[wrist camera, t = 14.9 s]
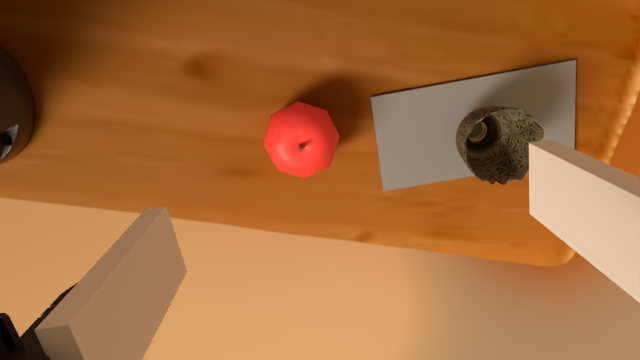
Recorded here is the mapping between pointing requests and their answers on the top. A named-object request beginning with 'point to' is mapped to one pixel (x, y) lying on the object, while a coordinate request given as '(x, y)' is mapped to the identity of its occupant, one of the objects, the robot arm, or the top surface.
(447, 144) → the rubber mat
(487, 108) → the cup
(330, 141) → the apple
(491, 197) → the top surface
